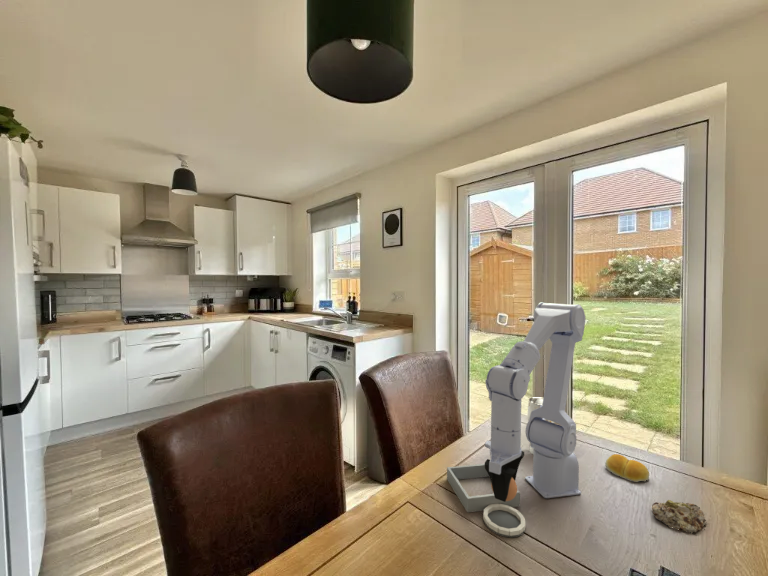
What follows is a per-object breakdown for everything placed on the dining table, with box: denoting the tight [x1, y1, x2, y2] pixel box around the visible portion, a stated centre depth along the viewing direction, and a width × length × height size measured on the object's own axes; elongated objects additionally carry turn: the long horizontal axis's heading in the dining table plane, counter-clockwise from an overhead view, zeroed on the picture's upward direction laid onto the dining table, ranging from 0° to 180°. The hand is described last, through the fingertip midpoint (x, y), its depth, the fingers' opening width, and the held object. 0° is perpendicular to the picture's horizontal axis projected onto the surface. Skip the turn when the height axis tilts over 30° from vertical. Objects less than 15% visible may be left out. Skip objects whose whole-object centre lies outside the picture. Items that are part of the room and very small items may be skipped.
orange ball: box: [490, 478, 518, 501], centre depth 70 cm, size 5×5×5 cm
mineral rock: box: [651, 499, 707, 534], centre depth 71 cm, size 11×4×8 cm
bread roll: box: [604, 453, 650, 483], centre depth 88 cm, size 8×9×4 cm
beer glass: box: [527, 396, 555, 455], centre depth 98 cm, size 7×7×15 cm
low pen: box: [446, 463, 521, 513], centre depth 80 cm, size 12×12×3 cm
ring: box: [482, 504, 526, 538], centre depth 70 cm, size 8×8×1 cm
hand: (504, 491), depth 70 cm, fingers closed on orange ball, 5 cm apart
